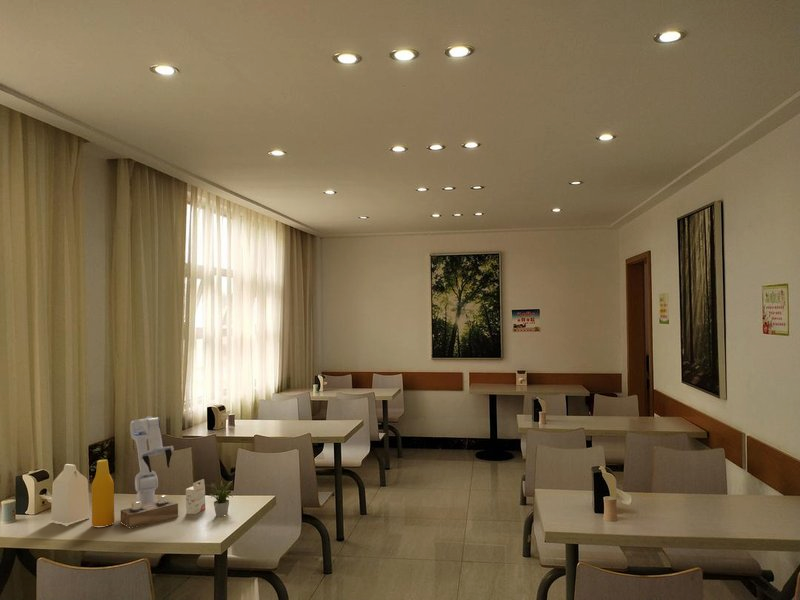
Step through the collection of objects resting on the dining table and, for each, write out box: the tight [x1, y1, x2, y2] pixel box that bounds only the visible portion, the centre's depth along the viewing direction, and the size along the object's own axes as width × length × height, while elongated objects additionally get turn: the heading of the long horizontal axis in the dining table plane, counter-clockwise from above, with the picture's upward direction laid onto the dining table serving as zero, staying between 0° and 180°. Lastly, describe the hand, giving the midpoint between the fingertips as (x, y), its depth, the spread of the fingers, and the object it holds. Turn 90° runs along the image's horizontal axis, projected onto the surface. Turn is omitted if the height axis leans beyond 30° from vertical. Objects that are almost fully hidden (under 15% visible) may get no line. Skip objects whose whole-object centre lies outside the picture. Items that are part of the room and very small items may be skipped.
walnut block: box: [120, 498, 179, 529], centre depth 278 cm, size 11×22×6 cm, turn 135°
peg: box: [157, 494, 168, 506], centre depth 282 cm, size 4×4×6 cm
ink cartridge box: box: [185, 478, 206, 515], centre depth 288 cm, size 9×5×15 cm, turn 161°
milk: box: [50, 463, 91, 523], centre depth 281 cm, size 12×12×26 cm
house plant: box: [207, 479, 233, 517], centre depth 281 cm, size 14×14×16 cm
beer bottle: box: [91, 459, 116, 527], centre depth 273 cm, size 9×9×29 cm
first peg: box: [131, 500, 141, 512], centre depth 273 cm, size 4×4×6 cm
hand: (159, 469), depth 273 cm, fingers open, 7 cm apart
